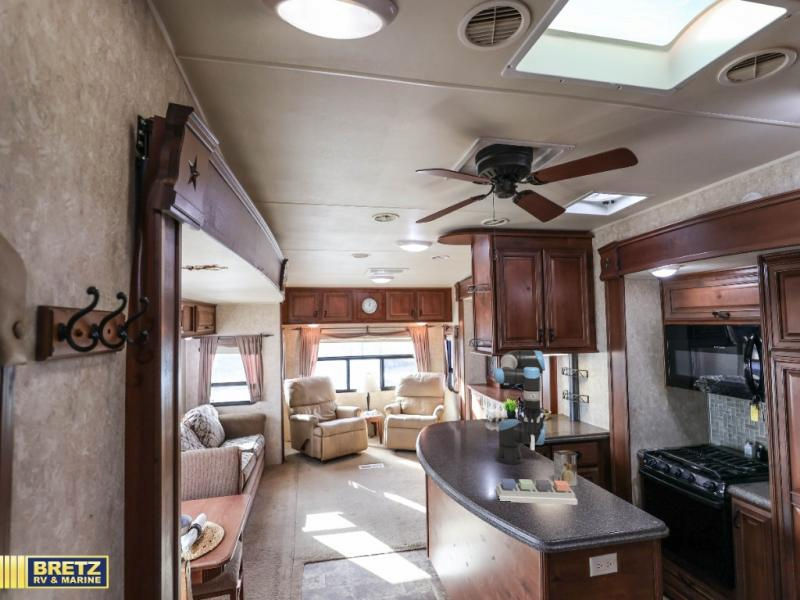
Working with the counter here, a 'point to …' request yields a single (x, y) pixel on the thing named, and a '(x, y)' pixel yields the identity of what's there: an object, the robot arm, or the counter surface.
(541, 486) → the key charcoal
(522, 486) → the key sage
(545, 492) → the keypad board
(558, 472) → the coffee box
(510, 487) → the key slate blue
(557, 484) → the key coral
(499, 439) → the robot arm
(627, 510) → the counter surface
